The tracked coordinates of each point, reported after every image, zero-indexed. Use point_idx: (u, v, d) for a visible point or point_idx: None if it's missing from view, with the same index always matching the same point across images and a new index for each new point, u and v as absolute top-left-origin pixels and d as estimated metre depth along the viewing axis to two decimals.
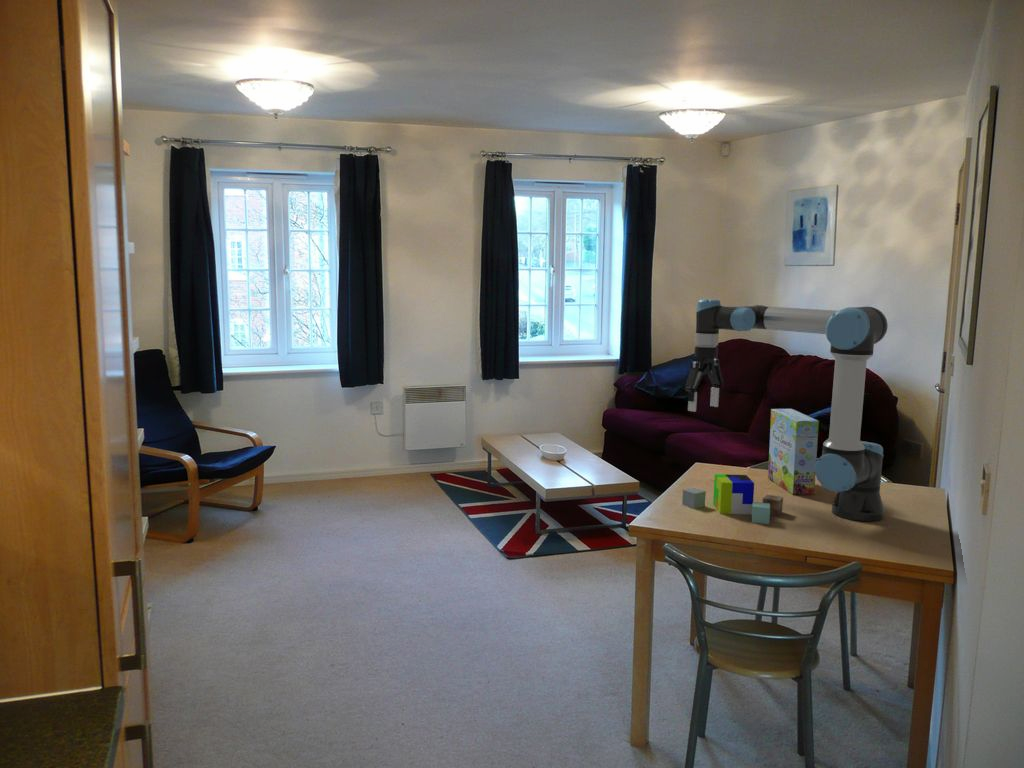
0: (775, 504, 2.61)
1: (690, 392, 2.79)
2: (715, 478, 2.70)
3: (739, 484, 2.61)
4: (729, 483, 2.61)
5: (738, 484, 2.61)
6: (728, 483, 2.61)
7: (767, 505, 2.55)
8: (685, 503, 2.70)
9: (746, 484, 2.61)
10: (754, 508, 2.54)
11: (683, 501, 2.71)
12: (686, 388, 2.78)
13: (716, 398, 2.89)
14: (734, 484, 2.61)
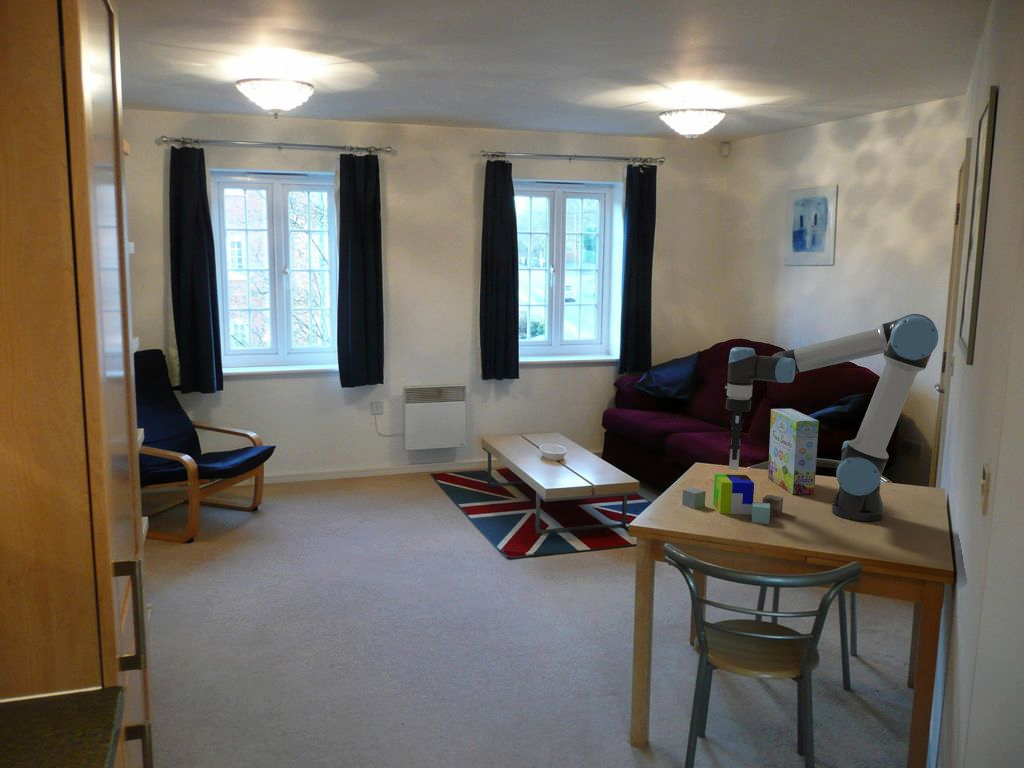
0: (775, 504, 2.61)
1: (735, 450, 2.57)
2: (715, 478, 2.70)
3: (739, 484, 2.61)
4: (729, 483, 2.61)
5: (738, 484, 2.61)
6: (728, 483, 2.61)
7: (767, 505, 2.55)
8: (685, 503, 2.70)
9: (746, 484, 2.61)
10: (754, 508, 2.54)
11: (683, 501, 2.71)
12: (733, 446, 2.55)
13: None
14: (734, 484, 2.61)
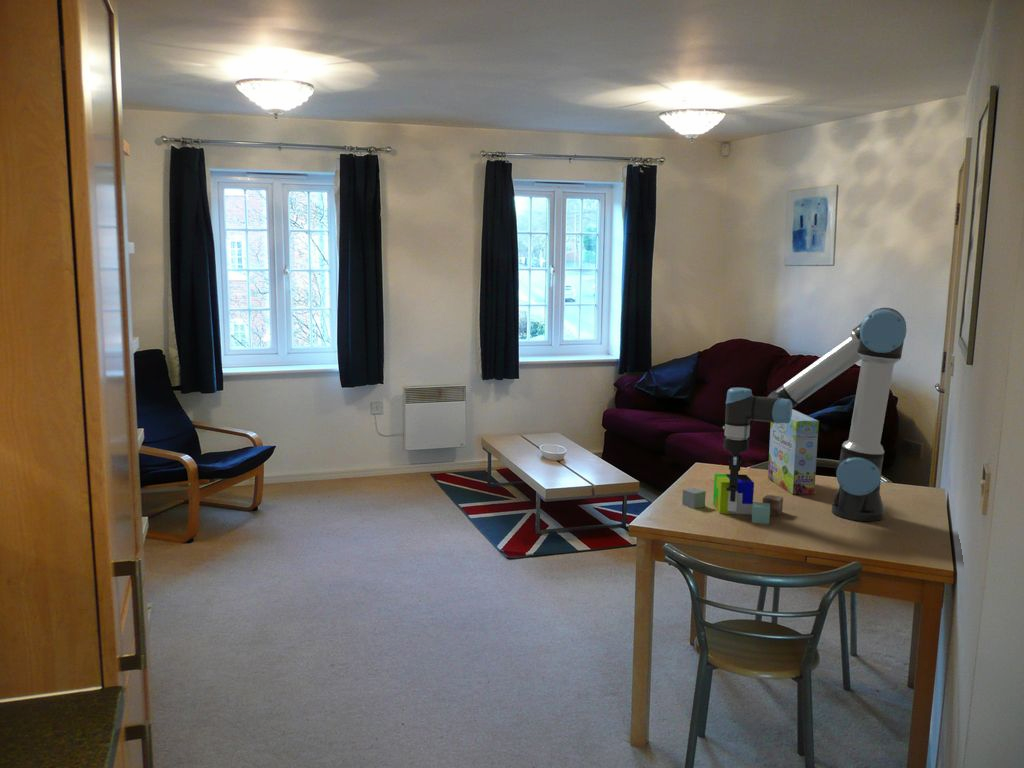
0: (775, 504, 2.61)
1: (733, 492, 2.59)
2: (715, 478, 2.70)
3: (739, 484, 2.61)
4: (729, 483, 2.61)
5: (738, 484, 2.61)
6: (728, 483, 2.61)
7: (767, 505, 2.55)
8: (685, 503, 2.70)
9: (746, 484, 2.61)
10: (754, 508, 2.54)
11: (683, 501, 2.71)
12: (731, 488, 2.58)
13: None
14: None
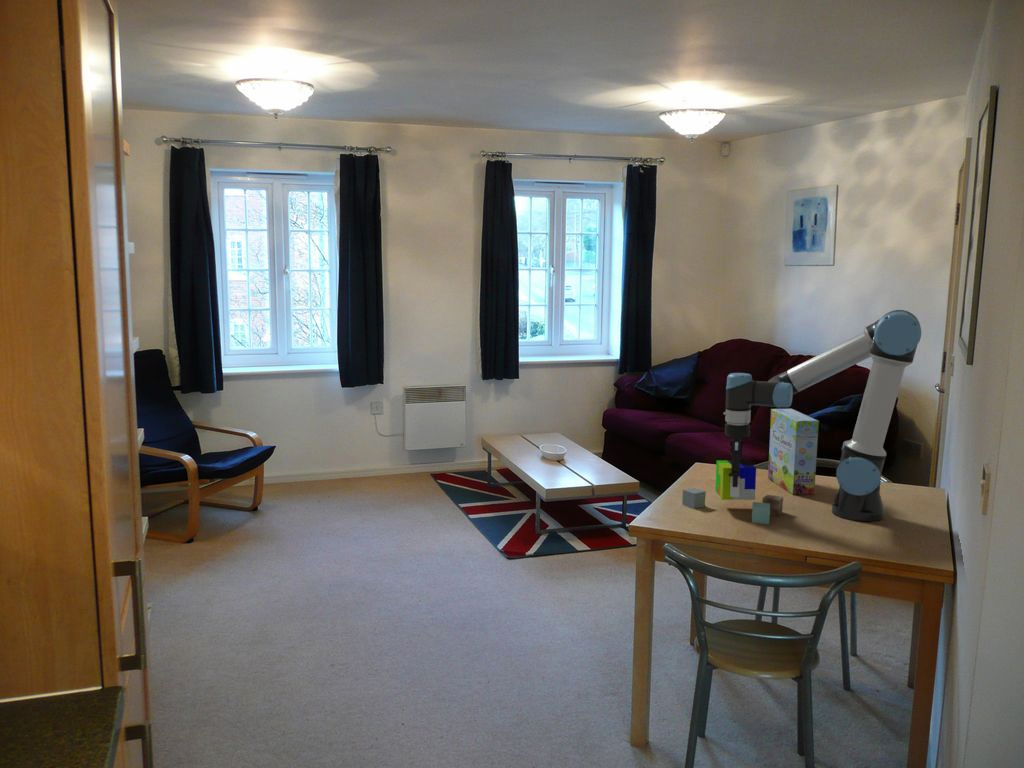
0: (775, 504, 2.61)
1: (735, 477, 2.59)
2: (717, 464, 2.69)
3: (741, 469, 2.60)
4: (731, 468, 2.61)
5: (740, 469, 2.61)
6: (730, 468, 2.61)
7: (767, 505, 2.55)
8: (685, 503, 2.70)
9: (748, 469, 2.60)
10: (754, 508, 2.54)
11: (683, 501, 2.71)
12: (733, 474, 2.57)
13: None
14: None
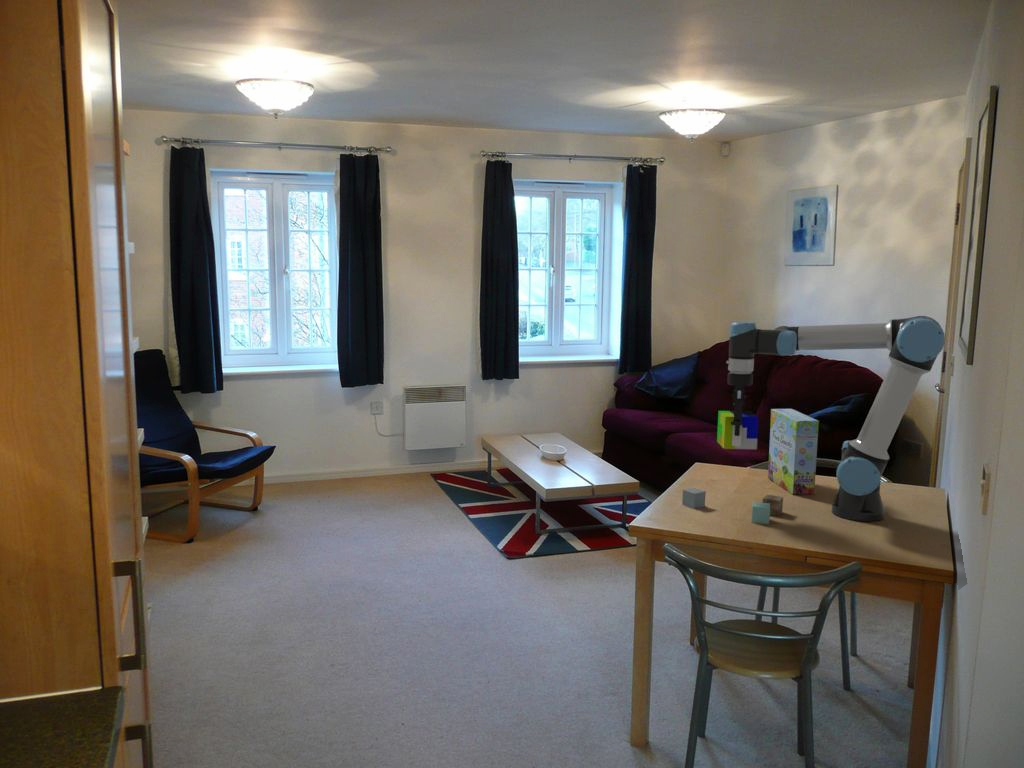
0: (775, 504, 2.61)
1: (737, 426, 2.56)
2: (719, 414, 2.67)
3: (743, 418, 2.58)
4: (733, 417, 2.58)
5: (742, 418, 2.58)
6: (732, 417, 2.58)
7: (767, 505, 2.55)
8: (685, 503, 2.70)
9: (750, 418, 2.58)
10: (754, 508, 2.54)
11: (683, 501, 2.71)
12: (736, 422, 2.55)
13: None
14: None
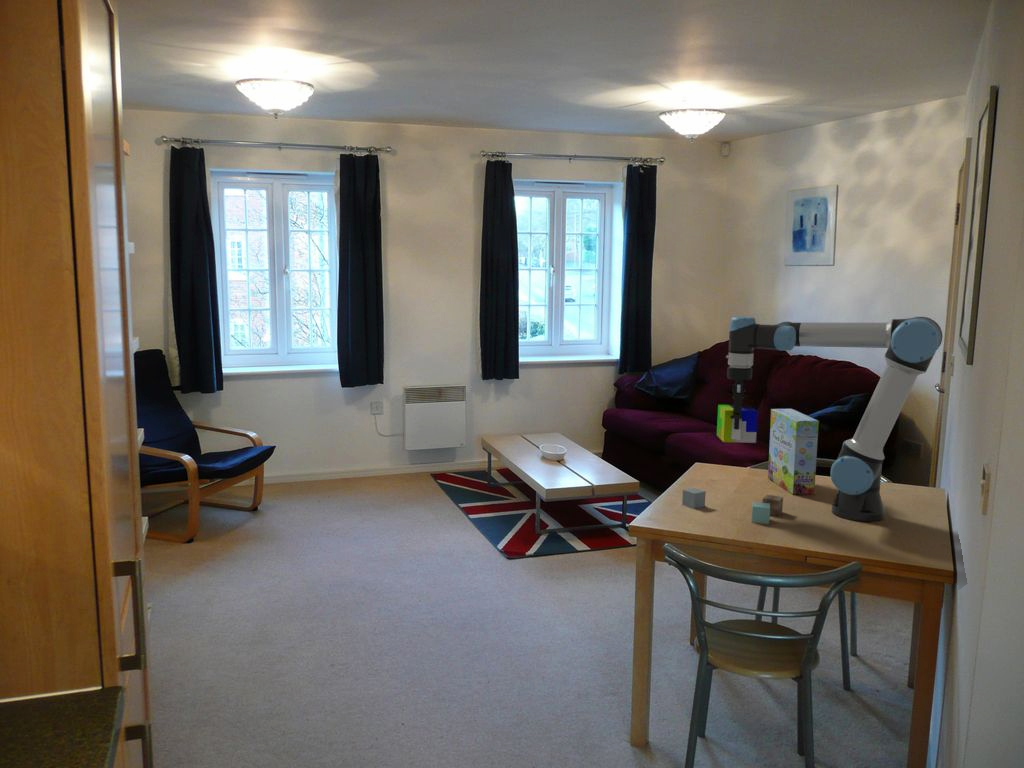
0: (775, 504, 2.61)
1: (737, 419, 2.60)
2: (718, 408, 2.70)
3: (742, 412, 2.61)
4: (732, 411, 2.62)
5: (741, 412, 2.61)
6: (731, 411, 2.62)
7: (767, 505, 2.55)
8: (685, 503, 2.70)
9: (749, 412, 2.61)
10: (754, 508, 2.54)
11: (683, 501, 2.71)
12: (735, 416, 2.58)
13: None
14: None
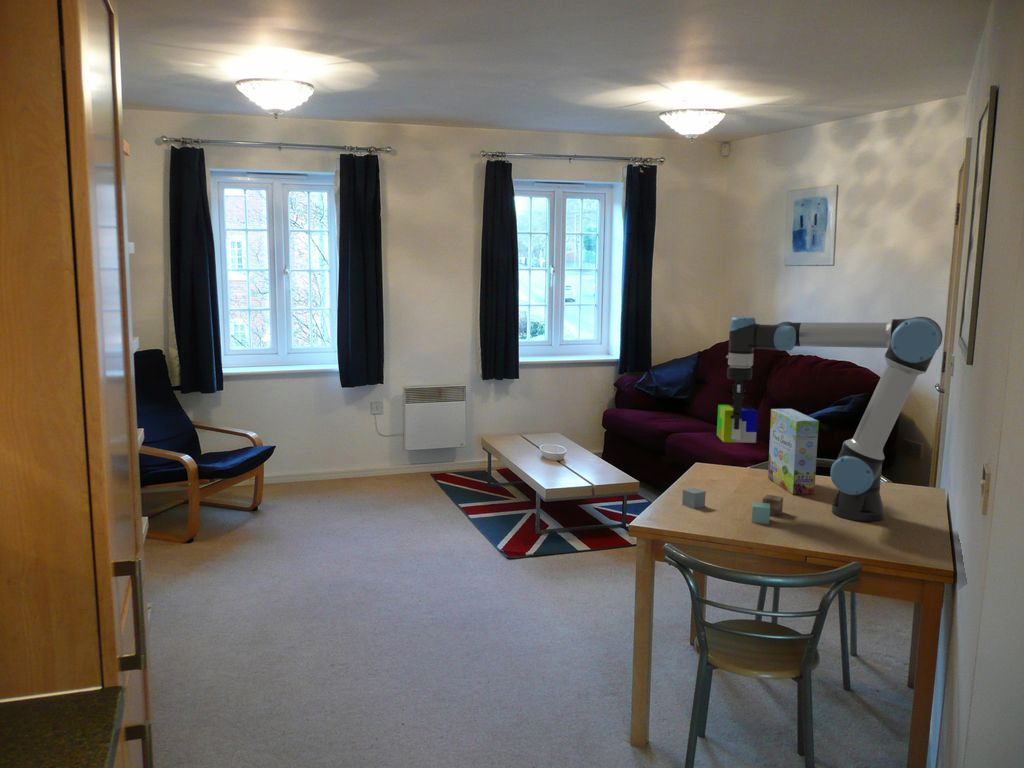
0: (775, 504, 2.61)
1: (737, 419, 2.60)
2: (718, 408, 2.70)
3: (742, 412, 2.61)
4: (732, 411, 2.62)
5: (741, 412, 2.61)
6: (731, 411, 2.62)
7: (767, 505, 2.55)
8: (685, 503, 2.70)
9: (749, 412, 2.61)
10: (754, 508, 2.54)
11: (683, 501, 2.71)
12: (735, 416, 2.58)
13: None
14: None
